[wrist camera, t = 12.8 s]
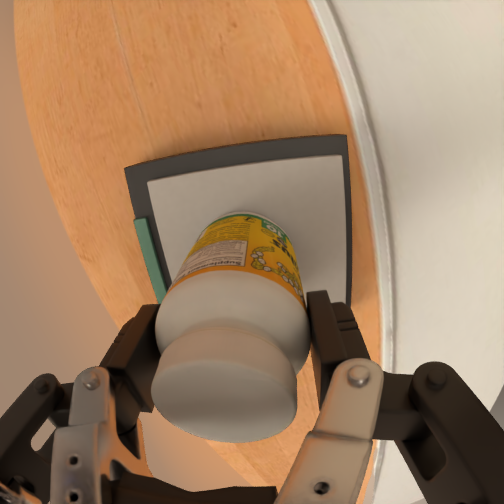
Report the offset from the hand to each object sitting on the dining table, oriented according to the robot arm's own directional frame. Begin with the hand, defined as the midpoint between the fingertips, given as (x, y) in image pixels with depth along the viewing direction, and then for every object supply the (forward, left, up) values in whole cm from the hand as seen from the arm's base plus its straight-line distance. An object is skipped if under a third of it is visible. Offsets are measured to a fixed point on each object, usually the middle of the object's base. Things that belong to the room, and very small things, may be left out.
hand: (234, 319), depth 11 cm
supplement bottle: (0, 0, -6) cm, 6 cm away
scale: (0, 0, -8) cm, 8 cm away
